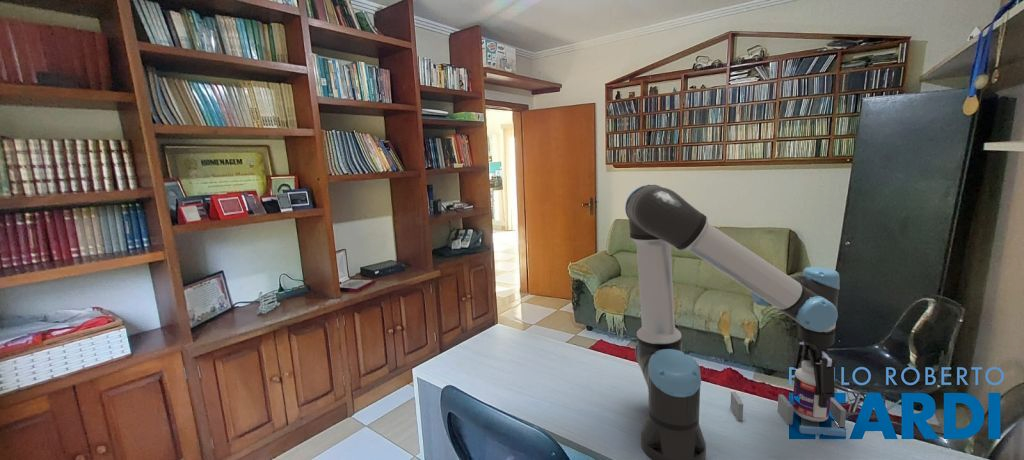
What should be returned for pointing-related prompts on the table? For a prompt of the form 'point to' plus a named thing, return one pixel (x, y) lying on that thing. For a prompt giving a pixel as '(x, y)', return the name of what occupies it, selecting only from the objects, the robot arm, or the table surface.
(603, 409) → the table surface
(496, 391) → the table surface
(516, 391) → the table surface
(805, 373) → the pill bottle
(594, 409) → the table surface
